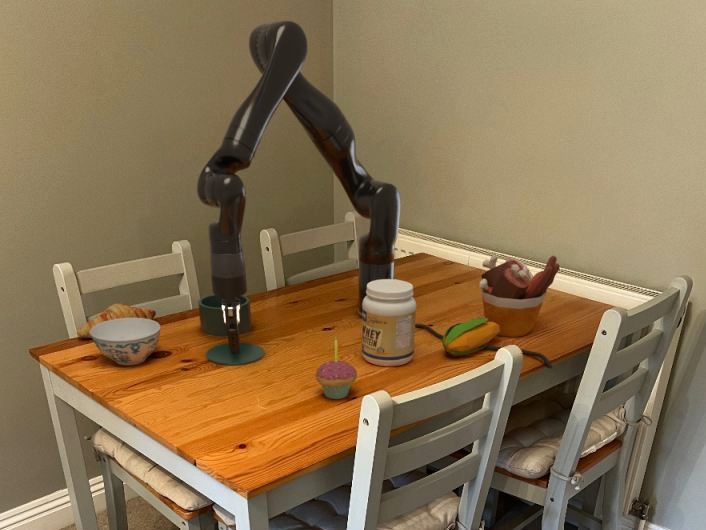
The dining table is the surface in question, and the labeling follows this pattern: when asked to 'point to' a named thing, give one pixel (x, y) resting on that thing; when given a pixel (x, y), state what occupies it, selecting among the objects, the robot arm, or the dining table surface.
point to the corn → (469, 336)
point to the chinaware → (126, 339)
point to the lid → (235, 354)
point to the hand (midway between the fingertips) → (234, 343)
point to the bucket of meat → (514, 294)
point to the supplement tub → (388, 322)
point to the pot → (222, 315)
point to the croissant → (115, 316)
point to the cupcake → (336, 376)
